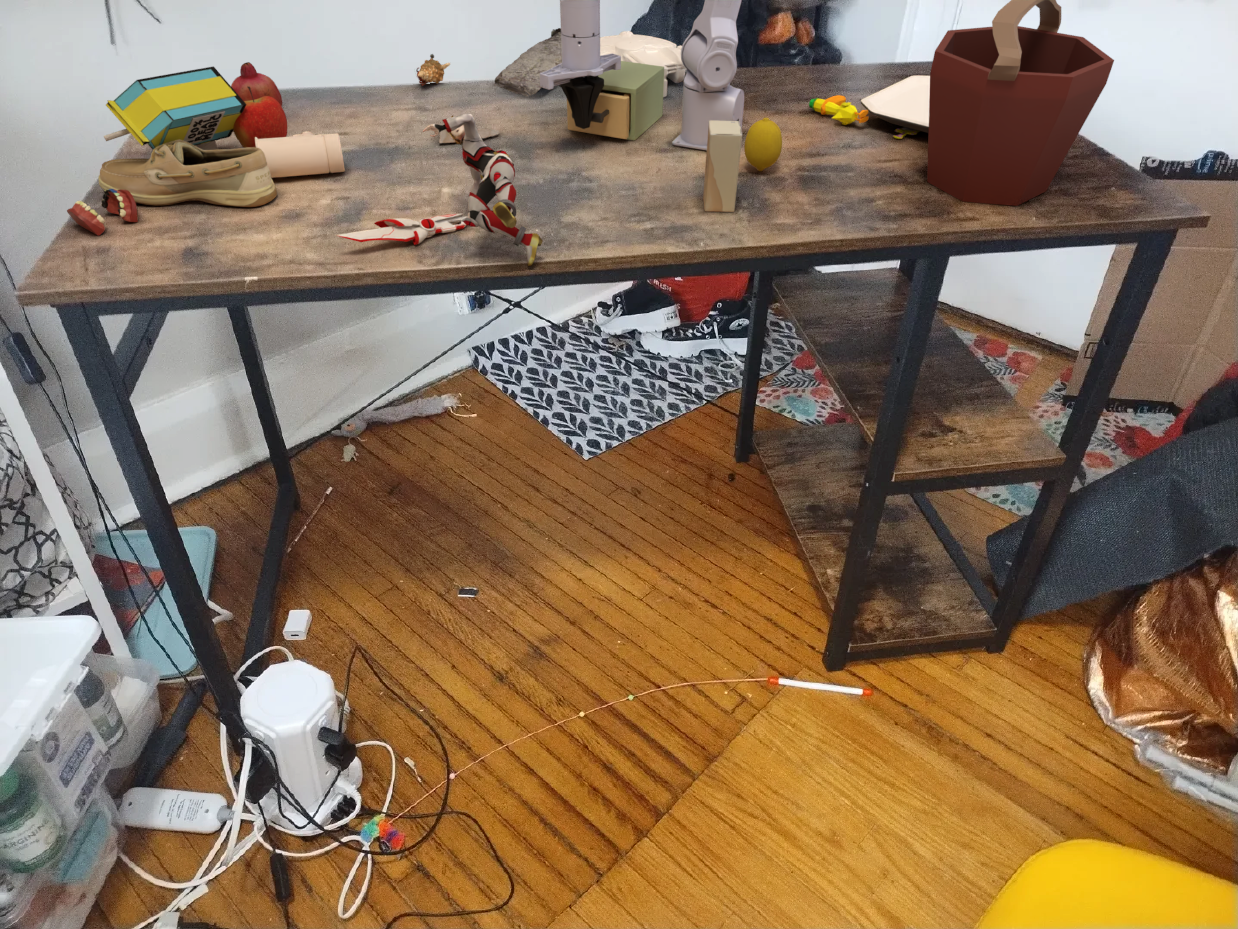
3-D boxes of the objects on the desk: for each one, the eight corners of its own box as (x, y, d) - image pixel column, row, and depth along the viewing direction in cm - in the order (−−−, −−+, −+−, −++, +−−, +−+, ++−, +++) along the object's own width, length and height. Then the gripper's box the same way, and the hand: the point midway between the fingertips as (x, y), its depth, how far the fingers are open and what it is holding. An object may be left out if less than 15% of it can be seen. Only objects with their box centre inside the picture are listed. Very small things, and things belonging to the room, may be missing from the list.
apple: (249, 168, 134) (231, 100, 128) (233, 151, 139) (215, 85, 133) (301, 156, 138) (286, 90, 131) (284, 140, 143) (268, 75, 136)
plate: (1014, 162, 136) (1019, 148, 134) (845, 117, 149) (848, 103, 148) (1073, 118, 153) (1078, 105, 152) (917, 82, 167) (920, 69, 166)
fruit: (285, 132, 145) (270, 68, 139) (233, 136, 144) (216, 71, 138) (289, 115, 151) (275, 53, 145) (240, 118, 150) (223, 56, 144)
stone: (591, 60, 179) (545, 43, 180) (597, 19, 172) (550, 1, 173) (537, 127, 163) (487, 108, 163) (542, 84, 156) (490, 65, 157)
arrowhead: (439, 148, 142) (501, 145, 145) (439, 141, 141) (501, 138, 143) (436, 130, 145) (496, 128, 147) (435, 123, 144) (496, 120, 146)
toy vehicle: (547, 31, 169) (549, 66, 173) (599, 74, 152) (599, 111, 156) (657, 15, 176) (656, 48, 180) (718, 54, 159) (716, 90, 163)
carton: (195, 102, 135) (89, 124, 121) (212, 64, 130) (103, 83, 116) (229, 141, 135) (127, 167, 122) (247, 105, 130) (143, 128, 117)
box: (702, 196, 128) (708, 118, 121) (732, 197, 128) (740, 119, 120) (704, 212, 124) (710, 133, 117) (735, 213, 124) (742, 133, 116)
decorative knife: (928, 117, 152) (952, 125, 149) (927, 120, 152) (951, 128, 149) (883, 131, 146) (907, 140, 143) (883, 134, 147) (907, 143, 144)
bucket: (998, 231, 120) (1057, 33, 104) (868, 179, 133) (902, -4, 117) (1093, 181, 132) (1159, -4, 115) (965, 137, 145) (1008, -34, 128)
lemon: (777, 164, 137) (784, 111, 132) (779, 179, 133) (786, 125, 127) (741, 163, 137) (747, 110, 132) (742, 177, 133) (747, 123, 128)
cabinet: (634, 140, 144) (635, 89, 139) (570, 130, 148) (568, 79, 142) (662, 115, 153) (664, 66, 148) (601, 106, 156) (600, 57, 151)
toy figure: (880, 119, 149) (830, 104, 157) (880, 98, 147) (830, 83, 155) (849, 134, 147) (801, 118, 155) (849, 112, 145) (800, 97, 153)
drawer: (616, 147, 139) (616, 106, 135) (557, 137, 142) (555, 97, 138) (652, 116, 150) (653, 77, 146) (596, 107, 153) (596, 69, 149)
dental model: (56, 197, 116) (115, 179, 121) (68, 227, 119) (125, 208, 124) (78, 210, 114) (137, 191, 119) (89, 240, 117) (147, 220, 121)
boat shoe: (92, 202, 124) (70, 145, 119) (126, 176, 131) (107, 121, 126) (262, 215, 123) (248, 158, 117) (288, 188, 129) (275, 133, 124)
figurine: (397, 82, 161) (413, 103, 163) (414, 70, 158) (431, 92, 160) (435, 48, 169) (450, 69, 171) (452, 36, 166) (467, 58, 168)
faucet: (254, 141, 125) (339, 134, 128) (255, 124, 135) (334, 119, 138) (263, 185, 128) (346, 178, 131) (264, 165, 138) (340, 159, 141)
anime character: (372, 317, 101) (314, 199, 115) (458, 374, 114) (396, 261, 127) (519, 179, 97) (440, 73, 110) (591, 255, 110) (512, 151, 123)
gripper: (560, 48, 123) (563, 145, 132) (635, 28, 131) (633, 121, 140) (528, 37, 127) (533, 132, 136) (603, 19, 135) (603, 110, 143)
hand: (582, 126), depth 138 cm, fingers closed
